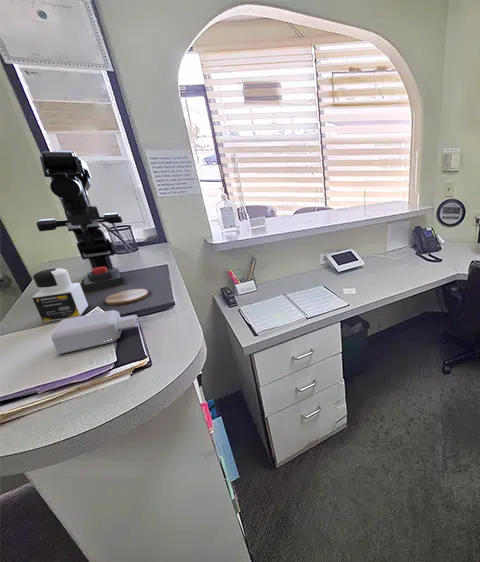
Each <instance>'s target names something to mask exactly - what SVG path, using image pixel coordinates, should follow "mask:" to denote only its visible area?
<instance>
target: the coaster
mask: <svg viewBox="0 0 480 562" xmlns="http://www.w3.org/2000/svg"><path fill="white" fill-rule="evenodd" d="M149 293H150V292H149V290H148V289H145V288H132V289H126V290H122V291H118V292H114V293H113V294H110V295H108V296H106V297H105V299H104V301H105V304H107V305H109V306H110V305H111V306H120V305H126V304H132V303H134V302H135V303H136V302H138V301H141V300H143V299H145V298H147V297H148V296H149Z"/></svg>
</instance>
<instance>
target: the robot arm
mask: <svg viewBox="0 0 480 562" xmlns="http://www.w3.org/2000/svg"><path fill="white" fill-rule="evenodd" d="M39 160H40V163H41V168H42V172H43V176H44V177H45V178H52V180H51V182H50V184H49V185H50V186H49V188H50V191H51V192H52V193H53V194H54V195H55V196H56V197H58V198H59V199H60V202H61V205H62V208H63V210H64V214H65V215H64V216H65V217H66V219H59V220H57V218H56V217H55V218H43V219H39V220H38V221H37V222H36V227H37V229H38V231H39V232H49V231H55V230H56V229H57V228H61V227H66V228H67V232H73V233H75V234H76V237H77V238H76V239H77V241H76V247H77V250H78V252H79V254H80V256H81V259H82V260H83V261H84V260H88V261H89V264H90V267H91V270H92V269H93V268H96V267H101V266H105V267H106V268H107V269H113V271H117V269H116V268H115V267H114V265H113V261H112V258H111V256H114V255H117V252H116V248H115V247H114V246H115V245H114V243H113V242H112V241H111V240H110V238H107V236H106V234H105V233H104V231H102V230H101V229H100V228H101V226H100V223H108V224H111V225H112V224H113V225H114V224H122V223H123V219H122V216H121V214H119V213H118V212H110V213H102V215H101V216H100V213H99V211H98V210H99V209H98V207H97V205H93V206H92V204H91V200H90V196H89V194H88V191H89V189H90V188H91V186H92V185H91V181H90V180H91V179H92V176H91V173H90V170H89V167H88V164H87V162H86V161H85V160H83V159H82V158H80V157H78V156H77V154H76V151H73V150H71V149H70V150H69V149H68V150H66V149H65V150H64V149H57V150H53V151H42V153H41V155H40V156H39Z"/></svg>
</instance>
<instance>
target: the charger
mask: <svg viewBox="0 0 480 562" xmlns="http://www.w3.org/2000/svg"><path fill="white" fill-rule="evenodd" d="M147 318H148V316H147V315H144V316H143V315H142V316H138V314H131V315H126V316H121V314H120V312H119V311H118V310H114V309H111V310H107V311H106V310H105V311H102V312H96V313H95V312H94V313H91V314H85V315H80V316H79V317H74V318H68V319H62V320H60V322H59V323H58V325H57V326H56V327H55V329H54V330H53V332H52V334H51V341H52V343H53V345H54V348H55V349H56V353H57V355H62V354H67V353H71V352H76V351H80V350H84V349H88V348H92V347H93V348H94V347H98V346H101V345H105V344H110V343H114V342H116V341H117V340H118V339H120V338H121V333H122V331H125V330H131V329H135V328H138V324H139V323H141V322H146V321H147ZM110 339H112V340H110ZM107 340H109V341H107ZM104 341H105V342H104Z"/></svg>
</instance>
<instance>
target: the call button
mask: <svg viewBox="0 0 480 562" xmlns="http://www.w3.org/2000/svg"><path fill="white" fill-rule="evenodd" d="M91 272H93V274H101V273H105V272H108V271H107V268H106V267H105V266H101V267H96V268H93V269H92V268H91Z"/></svg>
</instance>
